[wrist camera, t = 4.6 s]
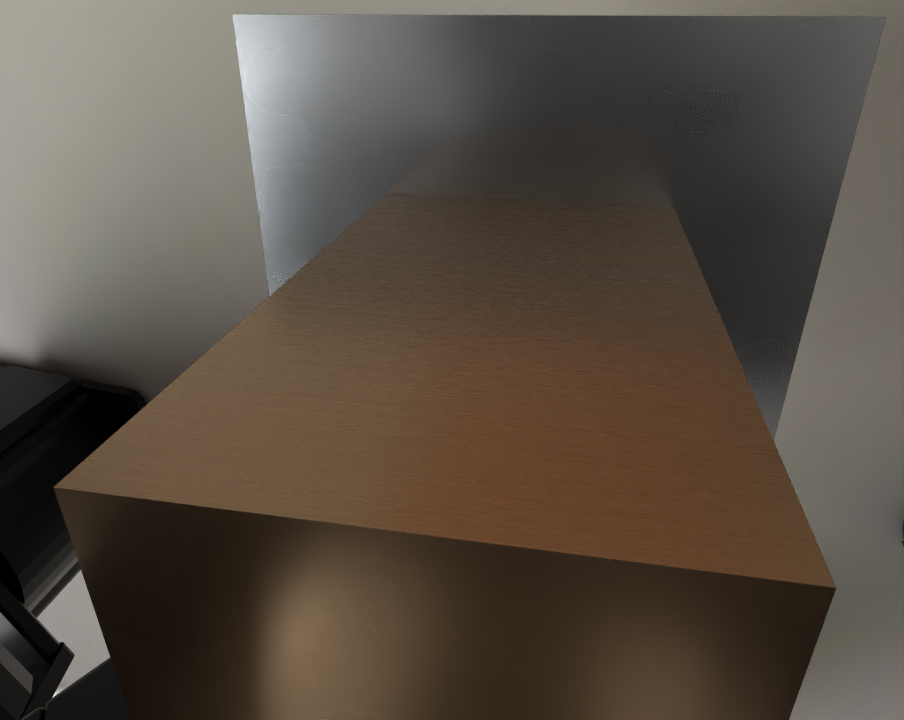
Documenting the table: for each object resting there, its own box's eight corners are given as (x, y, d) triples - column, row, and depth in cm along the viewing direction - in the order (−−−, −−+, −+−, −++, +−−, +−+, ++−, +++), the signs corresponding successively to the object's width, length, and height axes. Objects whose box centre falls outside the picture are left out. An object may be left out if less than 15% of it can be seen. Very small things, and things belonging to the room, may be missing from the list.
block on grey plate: (683, 718, 13) (763, 1317, 7) (334, 661, 14) (147, 1138, 8) (858, 17, 7) (1913, 36, 2) (261, 14, 9) (-493, 20, 3)
